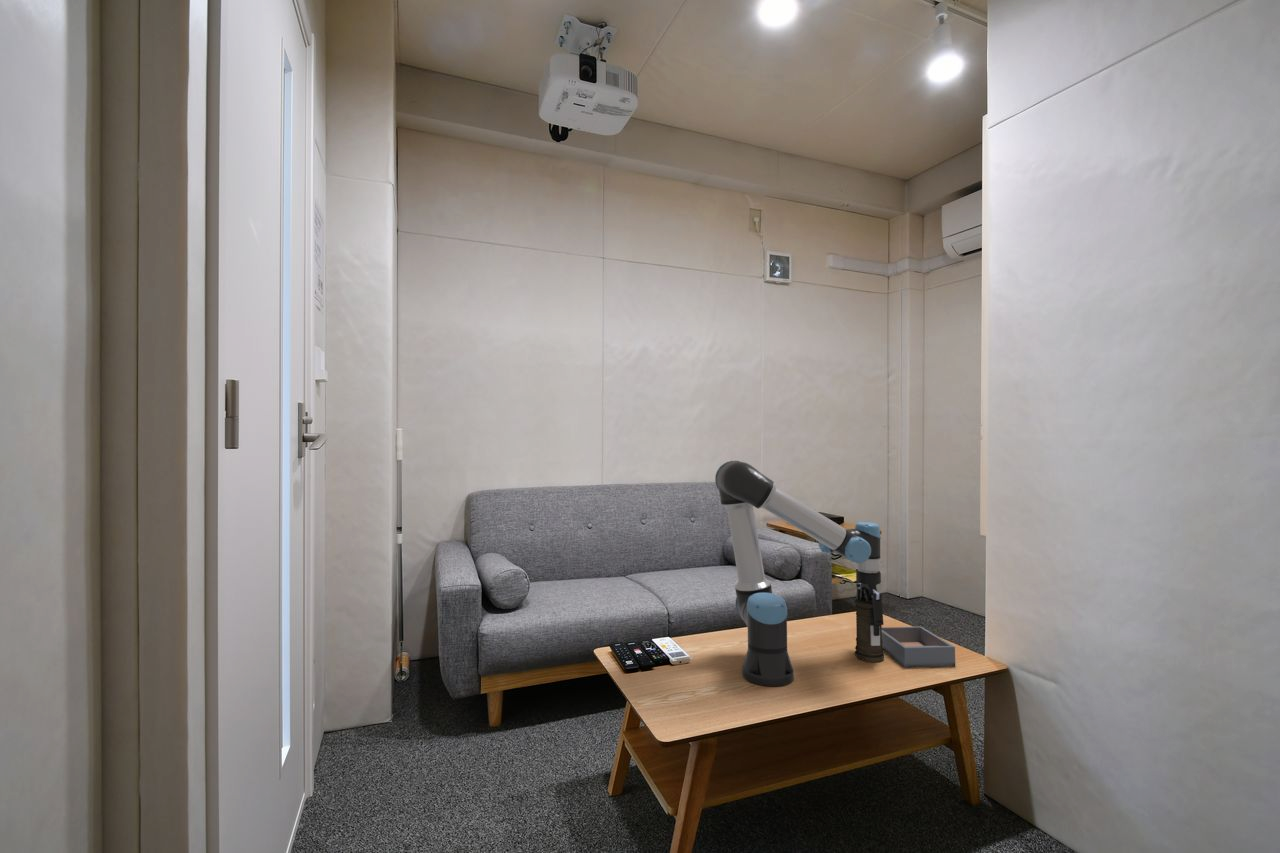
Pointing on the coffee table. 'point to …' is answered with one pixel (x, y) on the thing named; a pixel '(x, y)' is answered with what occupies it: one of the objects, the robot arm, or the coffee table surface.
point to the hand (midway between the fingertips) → (869, 640)
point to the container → (866, 634)
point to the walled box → (917, 647)
